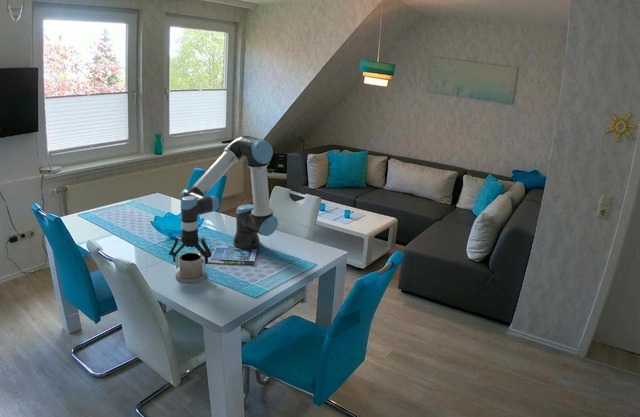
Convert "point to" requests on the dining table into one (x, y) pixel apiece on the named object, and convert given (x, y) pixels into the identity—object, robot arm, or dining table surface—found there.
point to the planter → (190, 265)
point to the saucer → (190, 281)
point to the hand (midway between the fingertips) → (191, 268)
